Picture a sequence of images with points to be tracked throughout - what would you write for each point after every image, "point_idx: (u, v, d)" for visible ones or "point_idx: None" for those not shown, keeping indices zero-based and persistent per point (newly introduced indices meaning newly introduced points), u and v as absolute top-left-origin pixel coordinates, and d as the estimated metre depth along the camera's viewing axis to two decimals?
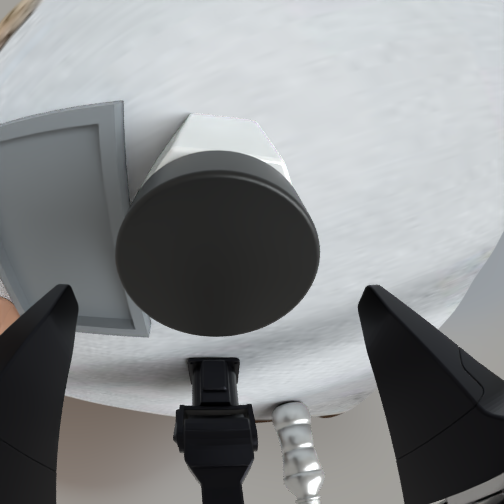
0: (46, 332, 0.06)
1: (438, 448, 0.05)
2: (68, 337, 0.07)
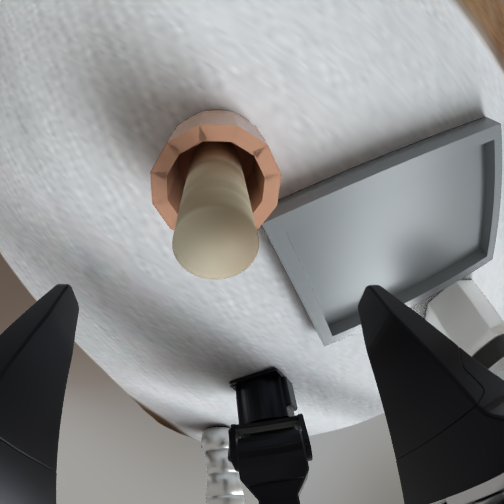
0: (46, 332, 0.06)
1: (438, 448, 0.05)
2: (67, 337, 0.07)
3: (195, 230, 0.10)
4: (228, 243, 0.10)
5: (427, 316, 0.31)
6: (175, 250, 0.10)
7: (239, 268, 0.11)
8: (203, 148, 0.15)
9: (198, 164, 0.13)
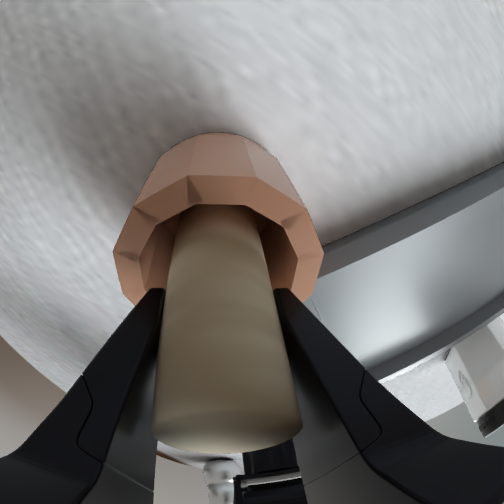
0: (154, 342, 0.06)
1: (331, 487, 0.04)
2: None
3: (190, 427, 0.04)
4: (250, 434, 0.05)
5: (450, 356, 0.26)
6: (159, 437, 0.05)
7: (265, 446, 0.06)
8: None
9: (189, 241, 0.08)
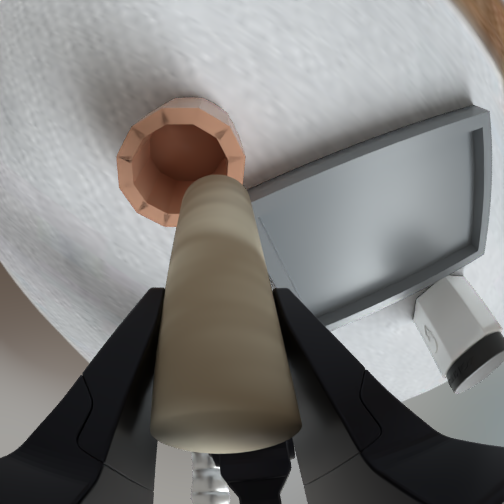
0: (154, 342, 0.06)
1: (331, 487, 0.04)
2: None
3: (188, 427, 0.04)
4: (248, 433, 0.05)
5: (416, 313, 0.31)
6: (157, 437, 0.05)
7: (264, 446, 0.06)
8: (197, 198, 0.10)
9: (188, 241, 0.08)
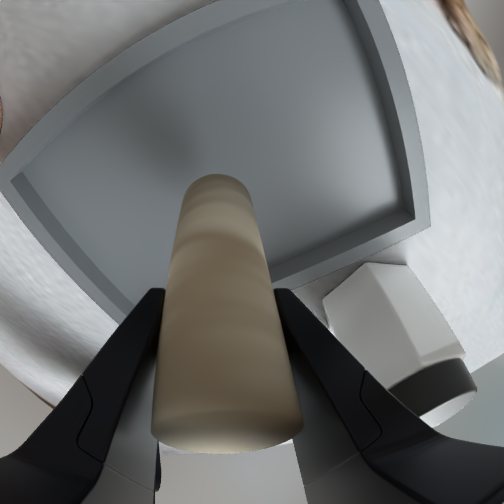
0: (154, 342, 0.06)
1: (331, 487, 0.04)
2: None
3: (189, 427, 0.04)
4: (250, 434, 0.05)
5: (327, 319, 0.23)
6: (158, 437, 0.05)
7: (266, 446, 0.06)
8: (198, 197, 0.10)
9: (189, 240, 0.08)
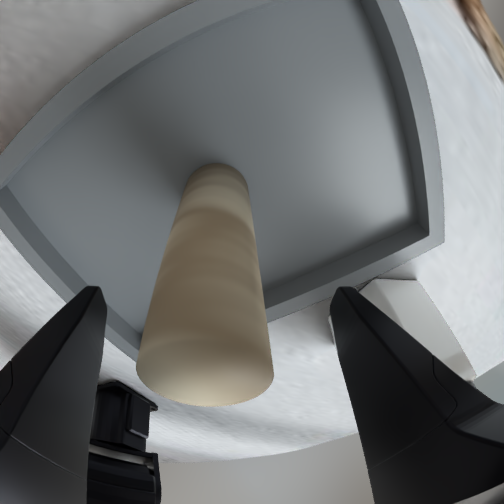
0: (79, 336, 0.06)
1: (407, 462, 0.04)
2: (98, 340, 0.07)
3: (168, 361, 0.05)
4: (224, 376, 0.06)
5: (333, 337, 0.22)
6: (143, 378, 0.06)
7: (242, 398, 0.06)
8: (197, 182, 0.11)
9: (185, 214, 0.09)
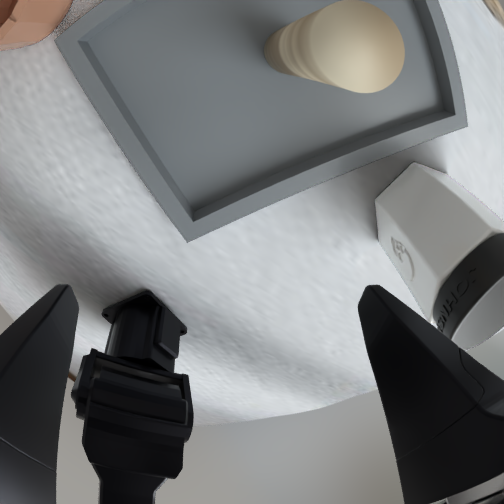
0: (46, 332, 0.06)
1: (438, 448, 0.05)
2: (68, 337, 0.07)
3: (342, 19, 0.06)
4: (375, 45, 0.06)
5: (379, 224, 0.22)
6: (314, 39, 0.06)
7: (383, 82, 0.07)
8: None
9: None
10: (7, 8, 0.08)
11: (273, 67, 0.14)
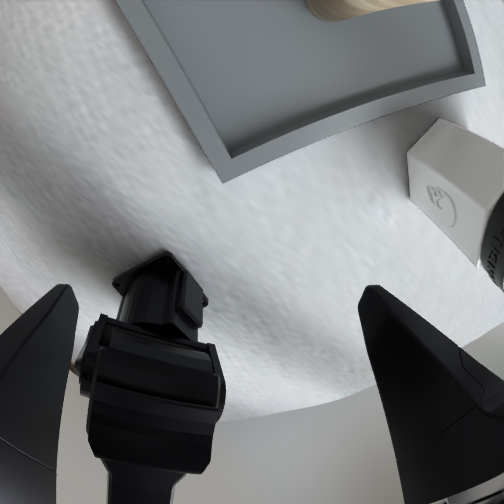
0: (46, 332, 0.06)
1: (438, 448, 0.05)
2: (68, 337, 0.07)
3: None
4: None
5: (411, 178, 0.20)
6: None
7: None
8: None
9: None
10: None
11: (315, 12, 0.12)
